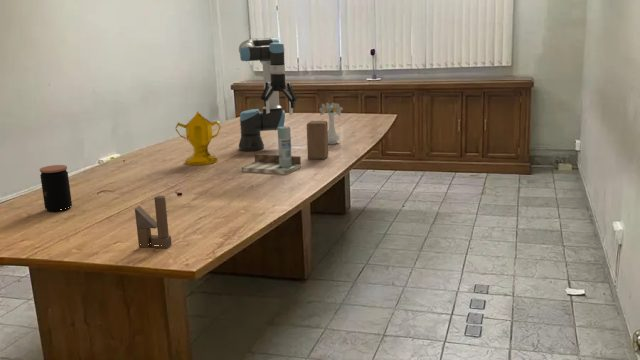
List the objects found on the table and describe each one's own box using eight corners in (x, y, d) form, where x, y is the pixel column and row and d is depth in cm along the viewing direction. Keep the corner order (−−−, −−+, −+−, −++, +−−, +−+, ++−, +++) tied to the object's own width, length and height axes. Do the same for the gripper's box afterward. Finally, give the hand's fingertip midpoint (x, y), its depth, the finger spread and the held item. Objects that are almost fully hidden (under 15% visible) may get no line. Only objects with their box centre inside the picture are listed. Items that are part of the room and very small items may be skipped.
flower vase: (345, 140, 403) (344, 100, 396) (338, 145, 385) (337, 104, 379) (325, 139, 406) (324, 100, 400) (317, 145, 389) (316, 104, 383)
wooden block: (325, 159, 349) (324, 123, 344) (307, 159, 351) (306, 123, 346) (328, 155, 359) (327, 120, 354) (311, 155, 361) (310, 120, 356)
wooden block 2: (143, 244, 224) (137, 194, 220) (172, 245, 222) (167, 195, 218) (138, 247, 221) (133, 197, 216) (167, 248, 219) (163, 198, 214)
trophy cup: (176, 161, 358) (172, 111, 351) (219, 156, 366) (216, 107, 359) (181, 167, 342) (176, 115, 335) (226, 162, 350) (222, 111, 343)
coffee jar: (50, 206, 275) (44, 165, 271) (75, 204, 276) (70, 164, 272) (41, 213, 265) (35, 171, 261) (68, 212, 266) (62, 170, 262)
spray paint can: (282, 168, 323) (280, 129, 318) (277, 165, 329) (275, 127, 324) (294, 166, 326) (292, 127, 321) (288, 164, 331) (287, 125, 327)
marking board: (241, 171, 328) (241, 159, 327) (256, 164, 343) (256, 153, 341) (287, 174, 318) (286, 162, 317) (300, 167, 332) (300, 156, 331)
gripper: (253, 73, 333) (255, 113, 339) (296, 74, 323) (297, 116, 329) (260, 71, 339) (262, 111, 345) (302, 72, 330) (304, 113, 336)
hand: (279, 113), depth 337 cm, fingers open, 13 cm apart
